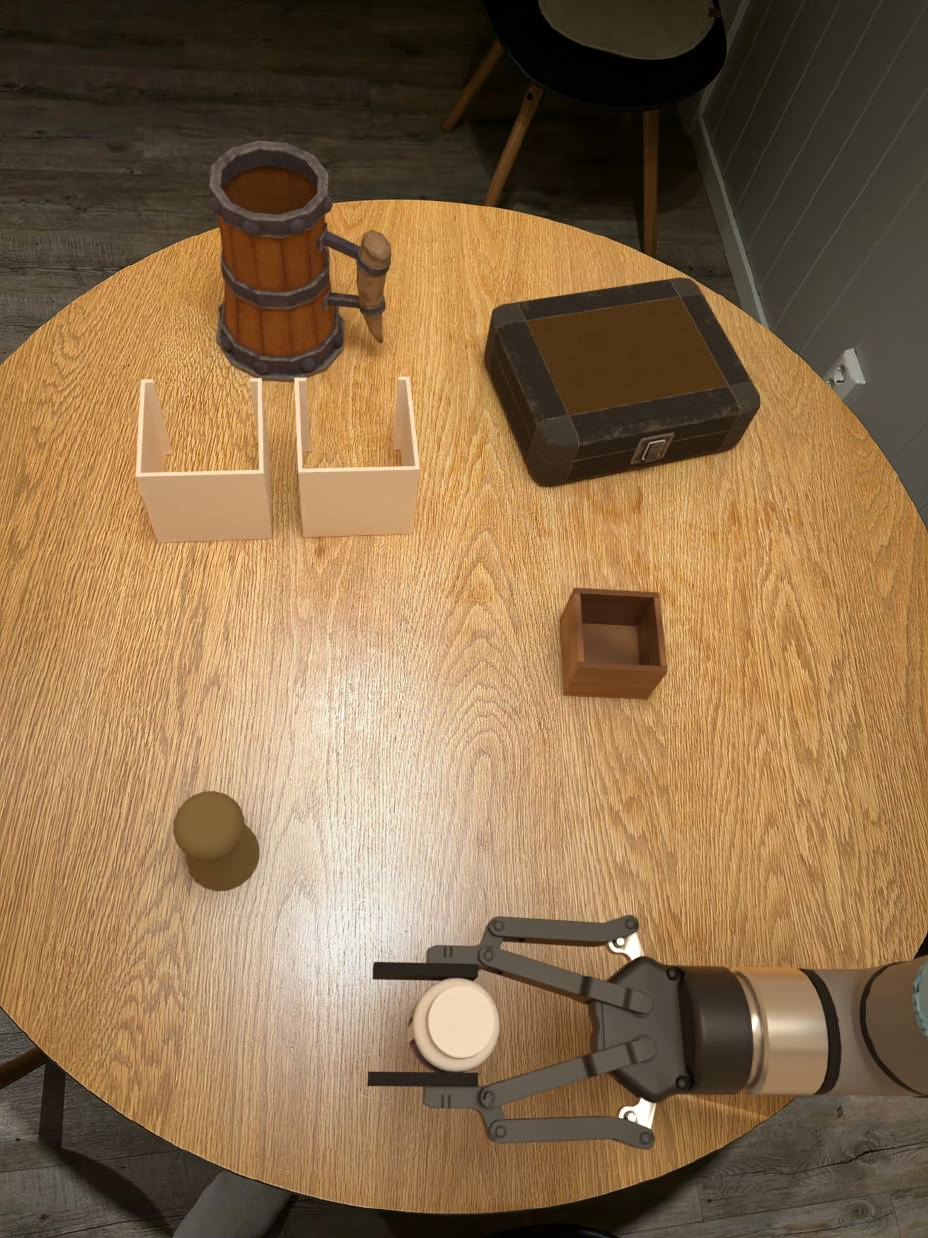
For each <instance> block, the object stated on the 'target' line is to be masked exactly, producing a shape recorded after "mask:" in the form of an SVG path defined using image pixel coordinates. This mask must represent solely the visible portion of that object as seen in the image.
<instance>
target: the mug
mask: <svg viewBox="0 0 928 1238" xmlns="http://www.w3.org/2000/svg"><path fill="white" fill-rule="evenodd" d="M207 178H208V180H209V185H208V188H209V195H210V202H209V208H210V210H211V212H212V213H213V214H214V215H216V216H217V219H218V220H217V221H218V227H219V234H220V241H221V255H220V263H219V264H220V269H221V271H220V272H221V277H222V279H223V281H224V283H223V284H224V300H223V301H222V303H220V304H219V306H218V313H219V314H218V321H217V322H218V323H217V330H216V343H217V345H218V346H219V348H220V349H221V351H222V352H223V354H224V356H225V357H226V359H227V361H228V362H229V364H230V366H232V367H234V368H236V369H237V370H240V371H241V372H244V373H246V374H248V375H250V376H251V377H252V378H262V381H266V382H284V383H285V382H287V383H289V382H290V383H295V380H294V378H306V379H308V378H310V377H313V376H315V375H318V374H321V373H323V372H326V371H327V370H328V369H329V368H330V367H331V366H332V364H333V363H334V362H335V361H336V359H337V358H338V357H339V356H340V355H341V354H342V352H343V351H344V350H345V324H346V321H345V319H344V318H343V317H342V315H341V314H340V307H343V308H350V309H358V311H359V312H360V313H361V314H362V316H363V318H364V321H365V323H366V326H367V328H368V331H369V333H370V334H371V335H372V337H373V338H374V339H375V341H377V342H378V343H379V344H381V345H382V344H384V333H383V315H384V313H385V311H386V309H387V304H386V296H385V294H384V289H385V285H386V279H387V274H388V272H389V271H390V267H391V265H392V255H393V254H392V253H393V252H392V244H391V243H390V242H389V240H388V239H387V238H386V236H385V235H384V233H381V232H380V231H376V230H374V229H369V230H368V231H366V232H365V233H363V234H362V238H361V243H360V245H358V244H356V243H354V242H352V241H350V240H348V239H346V238H344V237H341V236H339V235H338V234H336V233H333V232H331V231H329V230H328V229H329V228H328V222H326V215H327V214H329V213H330V212H331V211H332V208H333V206H334V203H333V200H332V198H331V196H330V195H329V194H330V193H329V192H330V189H329V171H328V170H327V168H326V167H325V166H323V165H322V164H321V162H320V161H319V160H318V159H317V157H316V156H315V155H314V154H312V153H310V152H308V151H306V150H303V149H301V148H299V147H297V146H295V145H292V144H290V143H288V142H278V141H266V140H256V141H251V142H249V143H245V144H242V145H238V146H234V147H231V148H229V149H228V150H227V151H226V152H225V153H224V154H222V155H221V156H220V157H219V158H218V159H217V160H216V161H215V162H213V164H211V167H210V168H209V170H208V172H207ZM330 249H331V250H334V251H336V252H338V253H340V254H343V255H345V256H347V257H349V258H351V259H353V260H355V264H356V288H357V294H350V293H349V294H348V293H340V292H333V288H332V283H331V276H330V269H331V267H330V266H331V258H330V257H331V256H330V254H331V252H330Z"/></svg>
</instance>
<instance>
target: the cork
mask: <svg viewBox="0 0 928 1238" xmlns="http://www.w3.org/2000/svg"><path fill="white" fill-rule="evenodd" d="M172 827H173V829H172V830H173V831H172V832H173V836H174V840H175V843H176V844H177V846H178V847H179V849H180V850H181V851H182V853H184V854H185V863H186V866H187V869H188V873H189V875H190V877H192V879H193V880H194V881H195V883H196V884H198V885H200V886H201V887H202V888H204V889H207V890H211V891H215V892H224V891H225V892H226V891H230V890H233V889H235V888H238V887H241V885H243V884H244V883H246V881H248V880H249V879H250V878H251V877H252V875H253V874H254V872H255V871H256V869H257V867H258V863H259V861H260V844H259V841H258V839H257V836H256V835H255V833H254V832H253V831H252V829H251V828H250V827H249V826H248V825H247V824H246V823H245V816H244V813H243V810H242V808H241V806H240V805H239V804H238V802H237V801H236V800H235V799H234V798H232V797H231V796H230V795H228V794H227V793H225V792H224V793H223V792H219V791H216V790H209V791H208V790H207V791H201V792H199V793H195V794H193V795H192V796H190V797H189V798H187V799H186V800H185V801H184V802H183V803H182V805H180V807H179V808H178V810H177V812H176V814H175V817H174V820H173V826H172Z"/></svg>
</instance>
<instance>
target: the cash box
mask: <svg viewBox="0 0 928 1238" xmlns="http://www.w3.org/2000/svg"><path fill="white" fill-rule="evenodd" d="M483 362H484V364H485V367H486V369H487V371H488V374H489V376H490V379H491V381H492V384H493V386H494V388H495V391H496V393H497V396H498V399H499V400H500V403H501V405H502V408H503V410H504V412H505V415H506V418H507V420H508V423H509V425H510V427H511V430H512V432H513V435H514V436H515V440H516V441H517V444H518V446H519V449H520V451H521V453H522V457H523V458H524V461H525V463H526V466H527V468H528V471H529V473H530V475H531V477H532V478H533V479H534V480H535V482H537V483H538V484H539V485H543V486H549V487H551V486H557V485H560V484H561V485H562V484H566V483H572V482H576V481H581V480H586V479H591V478H596V477H600V476H601V477H602V476H606V475H610V474H616V473H620V472H625V471H631V470H634V469H641V468H645V467H650V466H655V465H660V464H665V463H670V462H675V461H679V460H684V459H689V458H690V459H691V458H695V457H698V456H699V457H700V456H705V455H709V454H714V453H718V452H723V451H728V450H731V449H732V448H734V447H735V446H737V445H738V444H739V443H740V442H741V440H742V438H743V437H744V435H745V434H746V431H747V430H748V428H749V427H750V425H751V424H752V422H753V420H754V417H755V416H756V415H757V414H758V412H759V410H760V408H761V404H762V403H761V395H760V393H759V391H758V389H757V387H756V386H755V383H754V382H753V380H752V379H751V377H750V375H749V373H748V371H747V369H746V368H745V366H744V364H743V362H742V360H741V359H740V357H739V355H738V354H737V352H736V350H735V348H734V347H733V344H732V343H731V341H730V340H729V338H728V336H727V335H726V332H725V330H724V328H723V327H722V325H721V323H720V322H719V320H718V318H717V316H716V314H715V313H714V311H713V310H712V308H711V306H710V304H709V302H708V301H707V299H706V297H705V295H704V294H703V292H702V290H701V288H700V286H699V285H698V284H697V283H696V282H695V281H694V280H692V279H691V278H687V277H681V276H679V277H673V278H667V279H666V278H665V279H659V280H651V281H647V282H639V283H633V284H626V285H620V286H619V285H618V286H614V287H607V288H599V289H594V290H593V289H592V290H587V291H580V292H575V293H574V292H573V293H568V294H567V293H566V294H561V295H554V296H547V297H542V298H535V299H528V300H521V301H516V302H507V303H501V304H500V305H498V306H496V307H494V308H493V309H492V310H491V315H490V319H489V325H488V332H487V336H486V343H485V348H484V354H483Z"/></svg>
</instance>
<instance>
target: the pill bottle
mask: <svg viewBox="0 0 928 1238" xmlns="http://www.w3.org/2000/svg"><path fill="white" fill-rule="evenodd" d="M500 1021H501V1020H500V1016H499V1012H498V1008H497V1006H496V1003H495V1001H494V999H493V997H492V996H491V995H490V993H489V992H488V991H487V990H486V989H485V988H484V987H483V986H481V985H480V984H479V983H476V982H475V981H471V980H468V979H464V978H448V979H444V980H442V981H436V982H435V983H434V984H432V985H431V986H430V987H428V988H427V989H425V991H424V992H423V993H422V994H421V996H420V997H419V999H418V1000H417V1002H416V1004H415V1005H414V1006H413V1008H412V1010H411V1013H410V1015H409V1018H408V1023H407V1042H408V1045H409V1048H410V1051H411V1053H412V1055H413V1056H414V1058H415V1060H416V1061H417V1063H419V1064H420V1065H421V1066H422V1067H423V1068H424V1069H426V1070H427V1071H428V1072H466V1073H468V1072H470V1071H472V1070H474V1069H476V1068H477V1067H479V1066H481V1065H482V1064H483V1063H485V1062H486V1060H487V1059H488V1058H489V1057H490V1056H491V1054H492V1053H493V1051H494V1049H495V1048H496V1046H497V1043H498V1040H499V1036H500V1029H501V1026H500V1025H501V1022H500Z"/></svg>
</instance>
